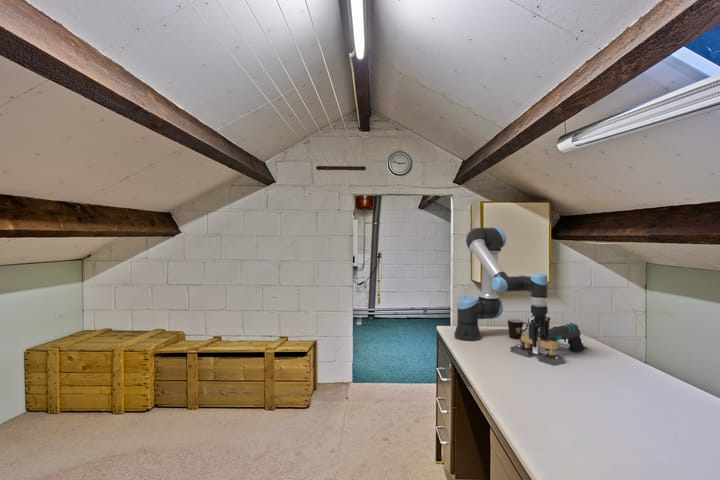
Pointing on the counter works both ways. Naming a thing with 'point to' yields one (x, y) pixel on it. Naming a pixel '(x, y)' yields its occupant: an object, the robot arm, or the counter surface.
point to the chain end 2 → (551, 359)
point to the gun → (565, 336)
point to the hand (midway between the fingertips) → (538, 352)
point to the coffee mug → (515, 328)
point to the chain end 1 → (522, 351)
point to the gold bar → (540, 344)
